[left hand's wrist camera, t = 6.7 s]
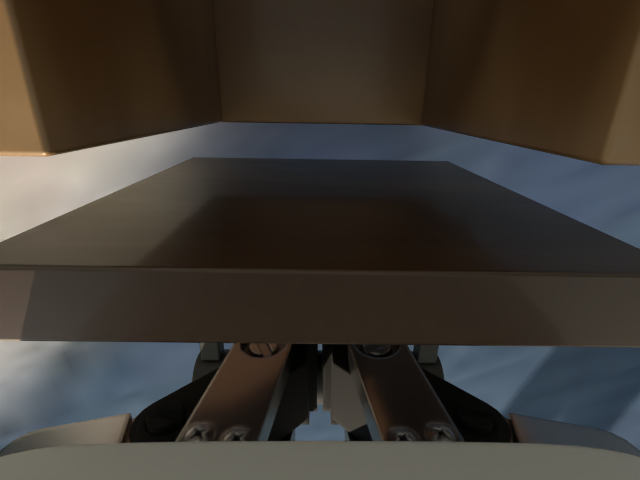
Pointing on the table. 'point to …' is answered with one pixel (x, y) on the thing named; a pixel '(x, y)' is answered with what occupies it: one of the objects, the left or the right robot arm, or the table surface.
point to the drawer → (321, 174)
